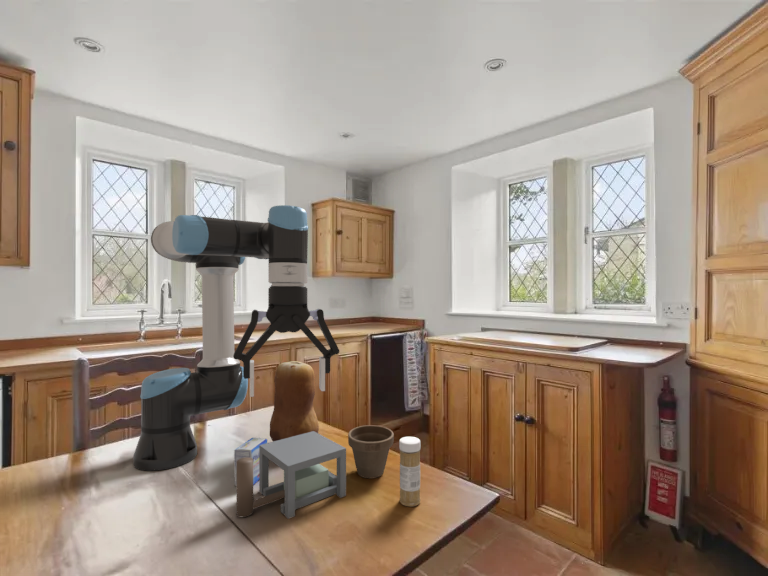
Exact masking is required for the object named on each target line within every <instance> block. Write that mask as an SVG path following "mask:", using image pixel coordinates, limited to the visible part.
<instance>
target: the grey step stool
mask: <svg viewBox="0 0 768 576" xmlns="http://www.w3.org/2000/svg"><path fill="white" fill-rule="evenodd" d="M331 460H336V474H334V473H333V472H332V471H330V470H329V487H326V488H324V489H321V490H318V491H316V492H313V493H310V494H308V495H305V496H302V497H300V498H297V499H295V471H298V470H301V469H304V468H307V467H311V466H314V465H317V464H324V463H326V462H329V461H331ZM269 461H271V462H272V463H274V464H275V465H276V466H277V467H279V468H280V469H281V470H283V472H284V471H285V497H284V502H283V503H281V504H280V513H281V514H282V515H284V516H285V518H287V520H288V519H291V518H295V517H296V510H298V509H301V508H303V507H306V506H308V505H311V504H313V503H316V502H318V501H320V500H321V501H322V500H324V499H326V498H329V497H331V496H333V495H336V496H337V497H338V498H340V499H342V498H344V497H346V496H347V448H346V447H345V446H343V445H341V444H339V443H337V442H336V441H333V440H332V439H330V438H328V437H325V436H323V435H322V434H321V433H319V432H318V433H317V432H315V431H312V432H308V433H304V434H300V435H297V436H293V437H289V438H285V439H281V440H277V441H270V442H267V443H266V444H262V445H259V481H258V482H259V483H258V484H259V487H258V491H259V493H260V494H261V495H263V496H262V497H264V496H267V495H270V494H273V493H276V492H279V491H282V490H284V481H282V482H279V483H276V484H272V485H270V486H269V474H270V473H269V468H270V467H269V465H270V463H269Z"/></svg>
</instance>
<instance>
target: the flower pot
mask: <svg viewBox="0 0 768 576" xmlns="http://www.w3.org/2000/svg"><path fill="white" fill-rule="evenodd" d="M394 437H395V434H394V432H393V430H391V428H389V427H386V426H381V425H373V424H371V425H368V424H367V425H360V426H357V427H354V428H352V429H350V430H349V432H348V434H347V439H348V440H347V441H348V442H347V443H348V446H349V447H350V448H351V449H352V455H353V458H354V459H353V460H354V464H355V469H356V471H357V474H358V476H360V477H362V478H365V479H377V478H379V477H381V476H382V475H383V474H384V471H385V468H386V465H387V461H388V456H389V454H390V453H389V452H390V448H391V447H392V446H393V445H394V440H395V438H394Z"/></svg>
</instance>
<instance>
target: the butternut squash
mask: <svg viewBox="0 0 768 576" xmlns="http://www.w3.org/2000/svg"><path fill="white" fill-rule="evenodd" d="M273 379H274V401H273V411H272V414H271V418H270V421H269V437H270V439H271V442H273V441H277V440H281V439H285V438H289V437H293V436H297V435H300V434H304V433H308V432H312V431H315V432H317V433H318V434H319V432H320V431H319V429H320V428H319V427H320V426H319V420H318V416H317V413H316V411H315V408H314V398H315V394H316V383H315V381H316V378H315V371H314V368H313V367H312V366H311V365H310V364H307V363H304V362H302V361H297V360H294V361H287V362H282V363H280V364H278V366H277V367H276V369H275V374H274V378H273Z"/></svg>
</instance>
